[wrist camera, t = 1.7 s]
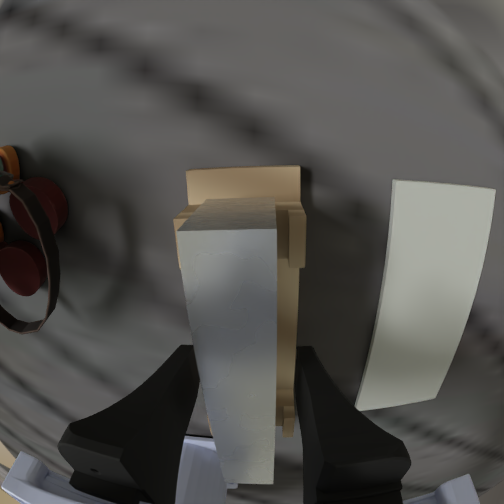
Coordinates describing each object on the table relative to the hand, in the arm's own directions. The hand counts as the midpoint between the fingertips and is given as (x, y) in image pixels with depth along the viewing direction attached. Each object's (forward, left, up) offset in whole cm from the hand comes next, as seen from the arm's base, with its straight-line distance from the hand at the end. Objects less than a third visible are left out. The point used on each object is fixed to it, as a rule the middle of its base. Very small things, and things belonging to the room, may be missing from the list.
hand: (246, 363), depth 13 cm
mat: (0, -10, -3) cm, 10 cm away
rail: (0, 0, -1) cm, 1 cm away
